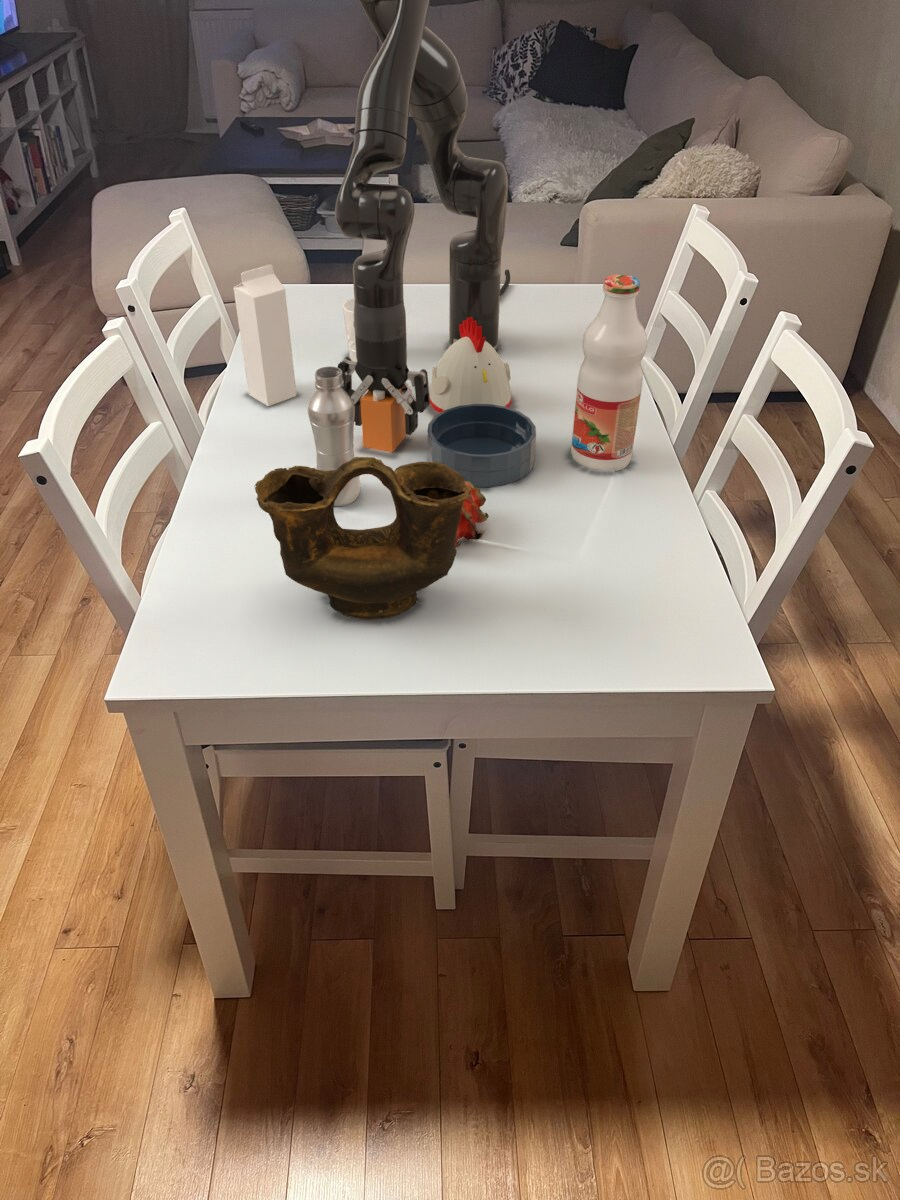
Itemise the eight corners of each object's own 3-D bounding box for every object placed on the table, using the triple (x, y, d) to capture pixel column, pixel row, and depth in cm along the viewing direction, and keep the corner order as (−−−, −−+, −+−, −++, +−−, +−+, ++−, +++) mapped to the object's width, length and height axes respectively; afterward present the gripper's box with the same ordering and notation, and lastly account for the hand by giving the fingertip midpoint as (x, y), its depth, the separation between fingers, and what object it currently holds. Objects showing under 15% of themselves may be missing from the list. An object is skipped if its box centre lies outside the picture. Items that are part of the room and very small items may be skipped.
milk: (297, 396, 162) (284, 268, 148) (267, 407, 159) (251, 278, 145) (276, 384, 165) (262, 258, 151) (247, 394, 162) (230, 267, 148)
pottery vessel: (268, 631, 114) (247, 491, 101) (272, 576, 122) (253, 442, 110) (473, 618, 116) (477, 480, 103) (463, 565, 124) (465, 432, 112)
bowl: (449, 430, 153) (449, 396, 149) (545, 448, 148) (548, 413, 144) (412, 479, 141) (411, 444, 137) (515, 500, 136) (517, 464, 133)
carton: (377, 435, 151) (374, 377, 145) (406, 440, 150) (404, 382, 144) (363, 451, 147) (359, 392, 141) (392, 456, 146) (390, 398, 140)
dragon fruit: (471, 520, 135) (450, 578, 127) (423, 487, 133) (399, 544, 125) (505, 488, 129) (486, 547, 121) (456, 453, 127) (433, 511, 119)
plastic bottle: (368, 492, 138) (361, 365, 125) (350, 516, 133) (340, 386, 120) (328, 484, 140) (317, 358, 127) (309, 508, 135) (295, 379, 122)
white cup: (397, 354, 175) (395, 302, 169) (372, 370, 170) (369, 316, 164) (363, 344, 178) (360, 293, 172) (337, 359, 173) (333, 307, 167)
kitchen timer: (449, 430, 153) (449, 342, 143) (417, 394, 162) (415, 310, 153) (525, 413, 157) (530, 328, 148) (489, 380, 167) (491, 297, 157)
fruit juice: (639, 471, 143) (666, 290, 125) (579, 476, 142) (598, 295, 124) (620, 441, 150) (643, 266, 132) (563, 446, 149) (579, 270, 131)
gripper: (435, 326, 137) (435, 425, 148) (346, 312, 141) (353, 410, 151) (416, 346, 132) (418, 447, 142) (324, 331, 136) (333, 431, 146)
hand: (384, 428), depth 147 cm, fingers open, 8 cm apart
